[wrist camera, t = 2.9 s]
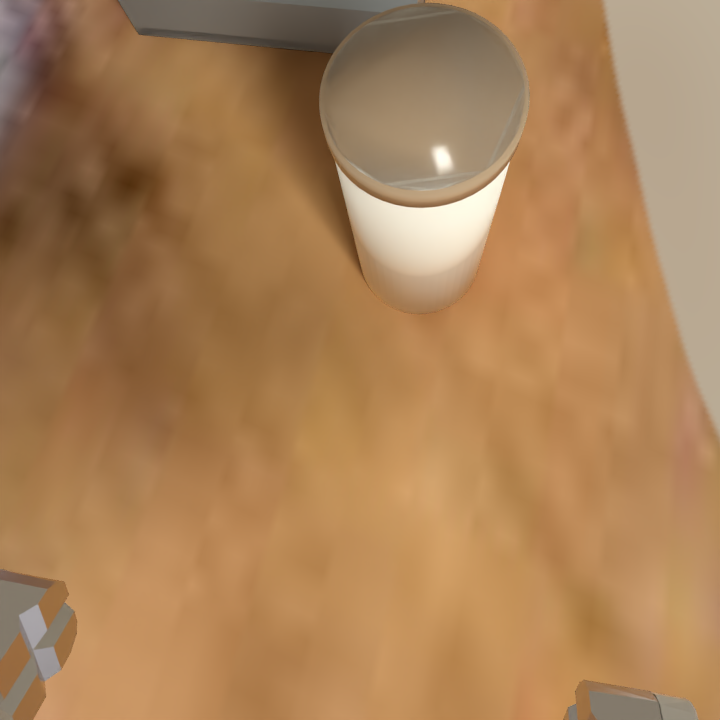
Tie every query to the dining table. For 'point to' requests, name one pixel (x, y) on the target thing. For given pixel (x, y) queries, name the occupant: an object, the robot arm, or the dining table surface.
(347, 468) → the dining table surface
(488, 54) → the tube
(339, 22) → the tray
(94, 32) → the dining table surface
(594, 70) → the dining table surface
